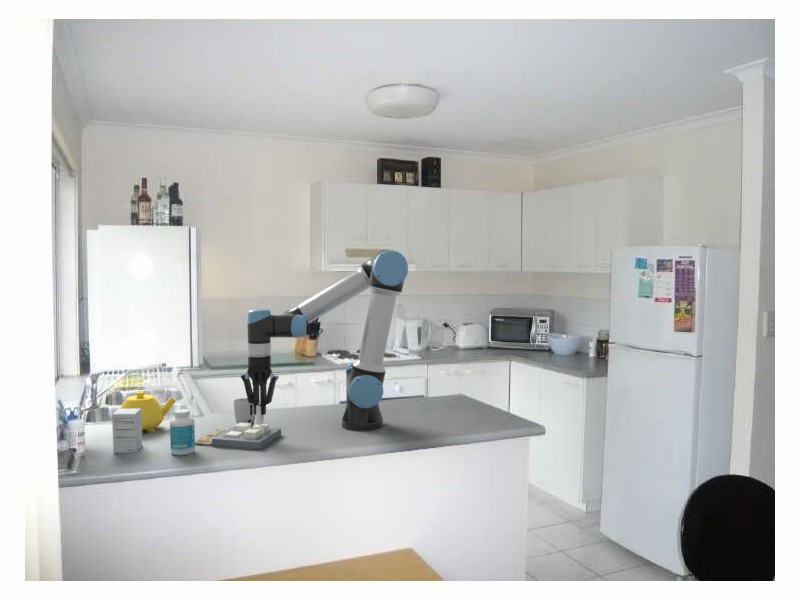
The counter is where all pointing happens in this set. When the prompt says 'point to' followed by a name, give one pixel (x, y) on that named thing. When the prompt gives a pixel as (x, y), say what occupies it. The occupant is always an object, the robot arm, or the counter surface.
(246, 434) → the button
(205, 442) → the card
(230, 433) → the button
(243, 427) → the button
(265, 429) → the button
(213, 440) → the button board
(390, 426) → the counter surface
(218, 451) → the counter surface
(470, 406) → the counter surface
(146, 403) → the teapot
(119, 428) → the supplement box
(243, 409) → the cup
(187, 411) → the pill bottle
